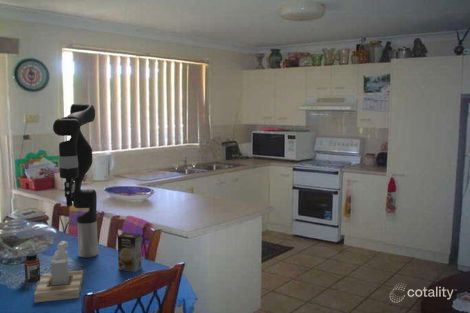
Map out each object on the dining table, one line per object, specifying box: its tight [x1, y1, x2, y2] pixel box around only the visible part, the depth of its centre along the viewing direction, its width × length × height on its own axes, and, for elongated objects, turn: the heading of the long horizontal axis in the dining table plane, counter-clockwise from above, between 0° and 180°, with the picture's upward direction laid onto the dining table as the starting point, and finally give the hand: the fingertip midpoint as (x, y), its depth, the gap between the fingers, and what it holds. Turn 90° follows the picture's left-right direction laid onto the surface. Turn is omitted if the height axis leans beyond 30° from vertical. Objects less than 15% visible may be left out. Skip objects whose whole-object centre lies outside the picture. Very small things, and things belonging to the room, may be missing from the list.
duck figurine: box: [52, 240, 69, 260], centre depth 208 cm, size 12×8×11 cm
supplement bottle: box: [23, 252, 41, 282], centre depth 187 cm, size 6×6×11 cm
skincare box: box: [50, 258, 69, 285], centre depth 177 cm, size 6×4×12 cm
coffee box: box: [117, 232, 143, 273], centre depth 199 cm, size 9×6×16 cm
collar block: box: [33, 269, 84, 303], centre depth 178 cm, size 20×16×4 cm
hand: (70, 203), depth 186 cm, fingers open, 8 cm apart
